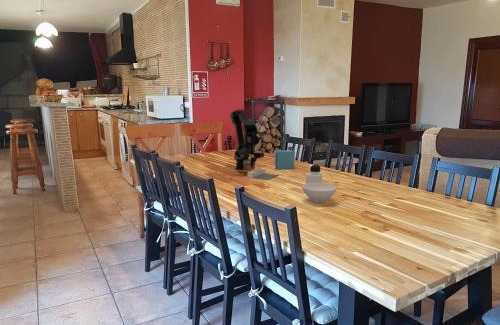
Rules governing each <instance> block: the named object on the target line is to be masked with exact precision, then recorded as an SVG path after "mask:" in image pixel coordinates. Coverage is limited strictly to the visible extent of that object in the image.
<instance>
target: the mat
mask: <svg viewBox="0 0 500 325" xmlns="http://www.w3.org/2000/svg"><path fill="white" fill-rule="evenodd" d="M278 176H279V174H273V173H272V174H271V173H268V172H266V173H264V174H261V175H258V176H255V177H253V178H252V179H257V180H265V181H268V180H271V179H275V178H276V177H278Z"/></svg>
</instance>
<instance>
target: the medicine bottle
mask: <svg viewBox="0 0 500 325" xmlns="http://www.w3.org/2000/svg"><path fill="white" fill-rule="evenodd" d="M307 183H323V173H321V165H319V164H310V165H308V173H307V174H306V176H305V184H307Z"/></svg>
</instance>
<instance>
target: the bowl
mask: <svg viewBox="0 0 500 325" xmlns="http://www.w3.org/2000/svg"><path fill="white" fill-rule="evenodd" d="M301 186H302V187H301V188H302V191H303V193H304V194H305V196H307V197H308V199H309V200H310V201H311V202H312V203H315V204H325V203H327V202H328V201H329V200H330V199H331V198H332V197H333V196H334V195H335V193H336V192H337V186H336V185H334V184H331V183H327V182H326V183H325V182H322V183H307V184H306V183H304V184H302V185H301Z"/></svg>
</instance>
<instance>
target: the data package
mask: <svg viewBox="0 0 500 325" xmlns="http://www.w3.org/2000/svg"><path fill="white" fill-rule="evenodd" d="M274 155H275V156H274V157H275V159H274V160H275V161H274V162H275V163H274V166H275V167H274V168H275V169H277V170H292V169H294V168H295V155H296V154H295V151H294V150H290V149H287V150H276V151H275V154H274Z"/></svg>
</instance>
